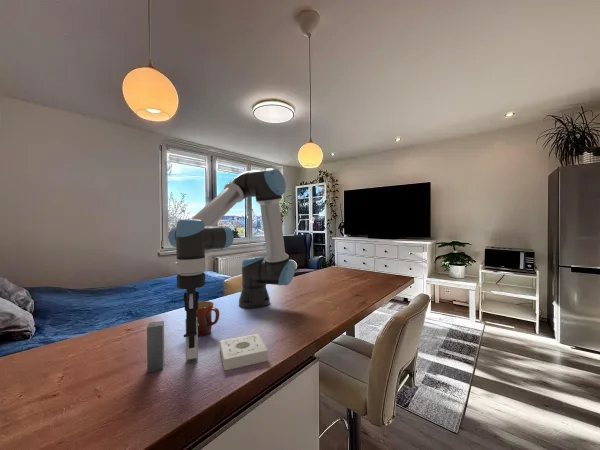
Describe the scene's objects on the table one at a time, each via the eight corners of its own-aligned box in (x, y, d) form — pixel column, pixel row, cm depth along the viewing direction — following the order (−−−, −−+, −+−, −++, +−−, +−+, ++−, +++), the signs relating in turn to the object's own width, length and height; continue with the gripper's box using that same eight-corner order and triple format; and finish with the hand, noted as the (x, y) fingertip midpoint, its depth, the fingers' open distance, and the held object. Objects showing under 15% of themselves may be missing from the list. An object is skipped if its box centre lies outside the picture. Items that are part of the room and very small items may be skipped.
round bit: (186, 359, 72) (185, 317, 72) (197, 356, 73) (197, 316, 73) (185, 364, 69) (185, 321, 69) (198, 362, 70) (197, 319, 70)
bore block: (220, 350, 77) (220, 340, 77) (258, 342, 82) (258, 333, 82) (224, 370, 66) (224, 359, 66) (267, 360, 71) (267, 350, 71)
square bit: (149, 366, 69) (149, 322, 69) (164, 363, 70) (163, 320, 70) (147, 373, 65) (146, 327, 66) (162, 369, 67) (162, 325, 67)
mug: (182, 336, 87) (181, 307, 87) (199, 326, 96) (199, 300, 96) (210, 341, 83) (210, 310, 83) (226, 330, 92) (225, 303, 92)
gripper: (178, 269, 78) (179, 344, 77) (174, 279, 62) (175, 373, 62) (204, 267, 80) (204, 340, 80) (206, 277, 65) (207, 366, 65)
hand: (191, 354), depth 71 cm, fingers open, 3 cm apart
